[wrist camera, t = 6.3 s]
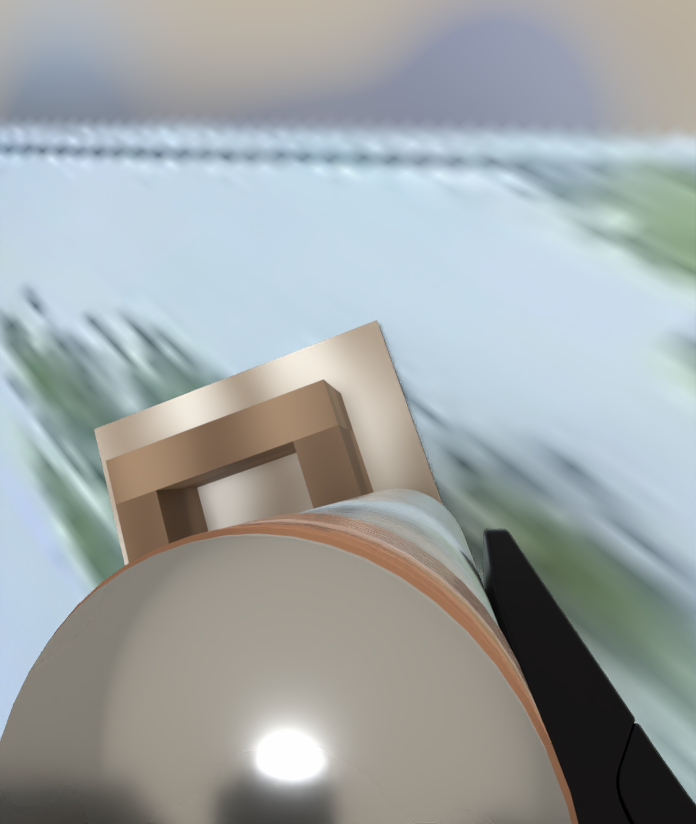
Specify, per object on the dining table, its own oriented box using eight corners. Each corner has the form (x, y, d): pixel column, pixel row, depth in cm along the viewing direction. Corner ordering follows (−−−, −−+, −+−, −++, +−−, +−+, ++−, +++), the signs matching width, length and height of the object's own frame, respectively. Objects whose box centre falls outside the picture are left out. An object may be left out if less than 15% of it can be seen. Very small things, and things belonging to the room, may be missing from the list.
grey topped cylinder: (375, 654, 15) (119, 1367, 3) (308, 529, 16) (-91, 696, 4) (498, 585, 15) (766, 1102, 3) (421, 461, 16) (358, 418, 4)
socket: (175, 738, 23) (116, 798, 19) (104, 430, 26) (39, 422, 22) (495, 651, 21) (509, 697, 17) (378, 325, 24) (365, 293, 19)
